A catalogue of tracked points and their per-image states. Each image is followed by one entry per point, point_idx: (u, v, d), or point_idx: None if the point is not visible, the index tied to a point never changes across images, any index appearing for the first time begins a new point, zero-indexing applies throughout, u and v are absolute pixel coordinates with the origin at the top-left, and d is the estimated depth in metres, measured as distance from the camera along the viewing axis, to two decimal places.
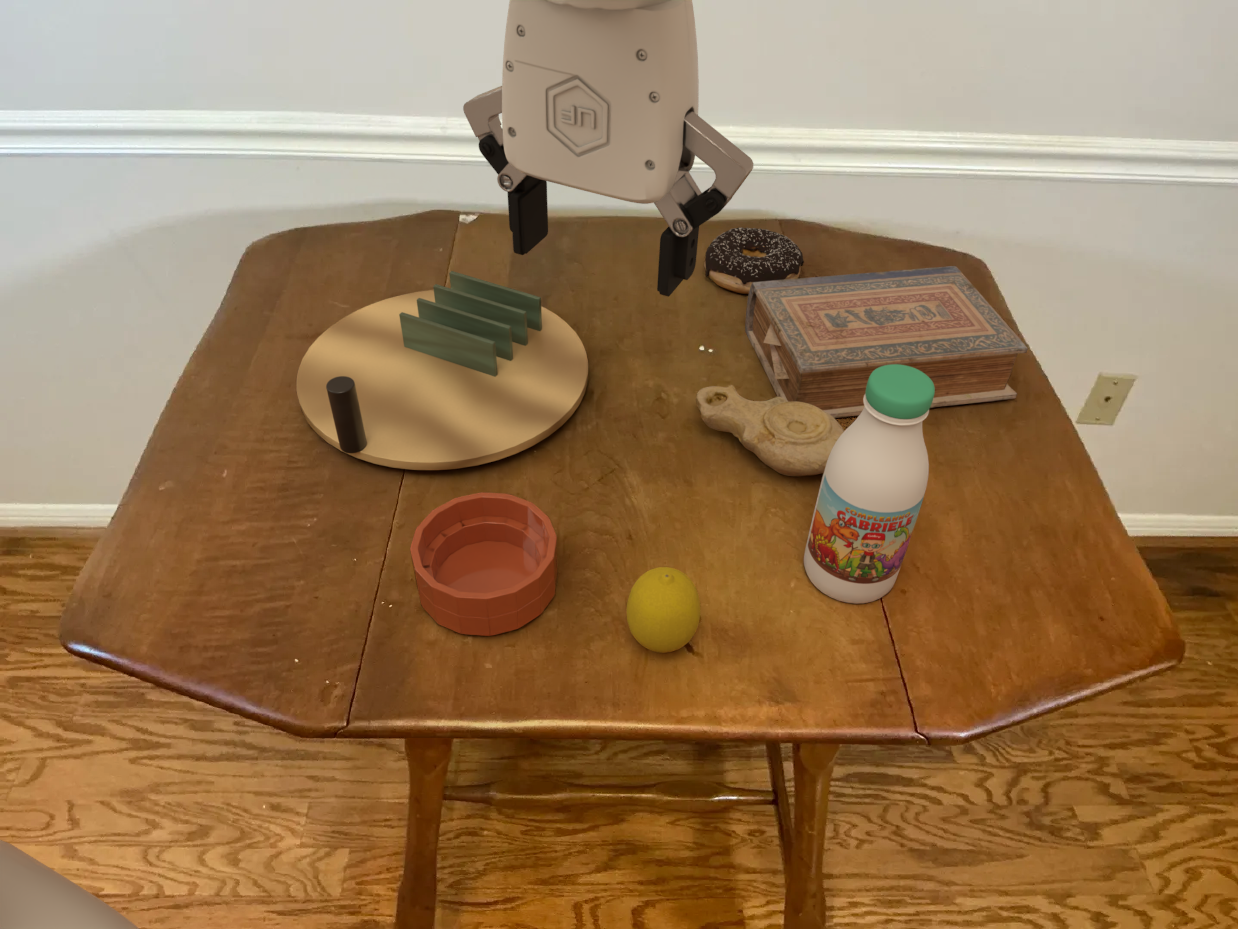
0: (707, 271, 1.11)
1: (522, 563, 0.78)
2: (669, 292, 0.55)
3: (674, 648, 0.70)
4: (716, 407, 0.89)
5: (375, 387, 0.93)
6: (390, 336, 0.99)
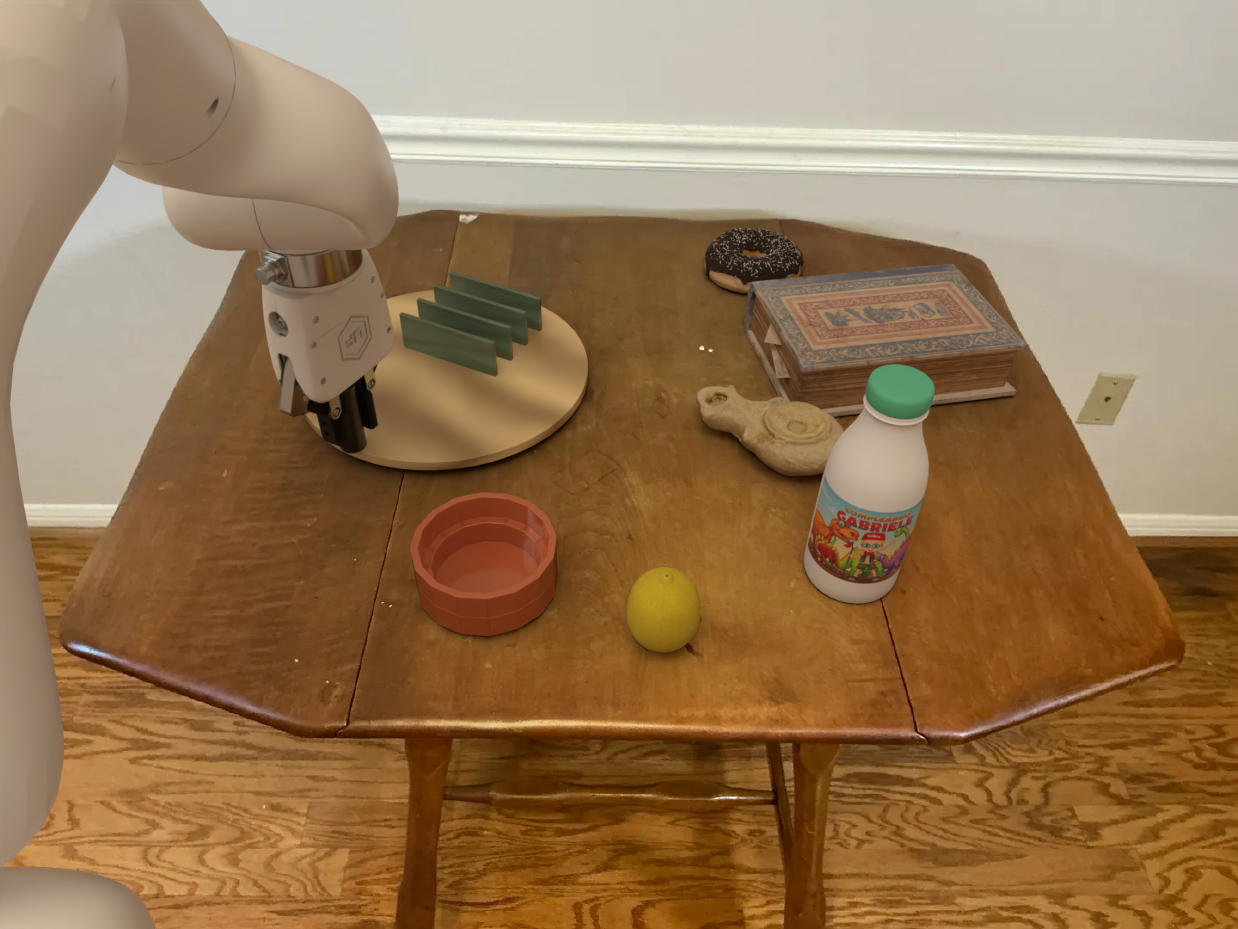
0: (707, 271, 1.11)
1: (522, 563, 0.78)
2: None
3: (674, 648, 0.70)
4: (716, 407, 0.89)
5: (375, 387, 0.93)
6: None
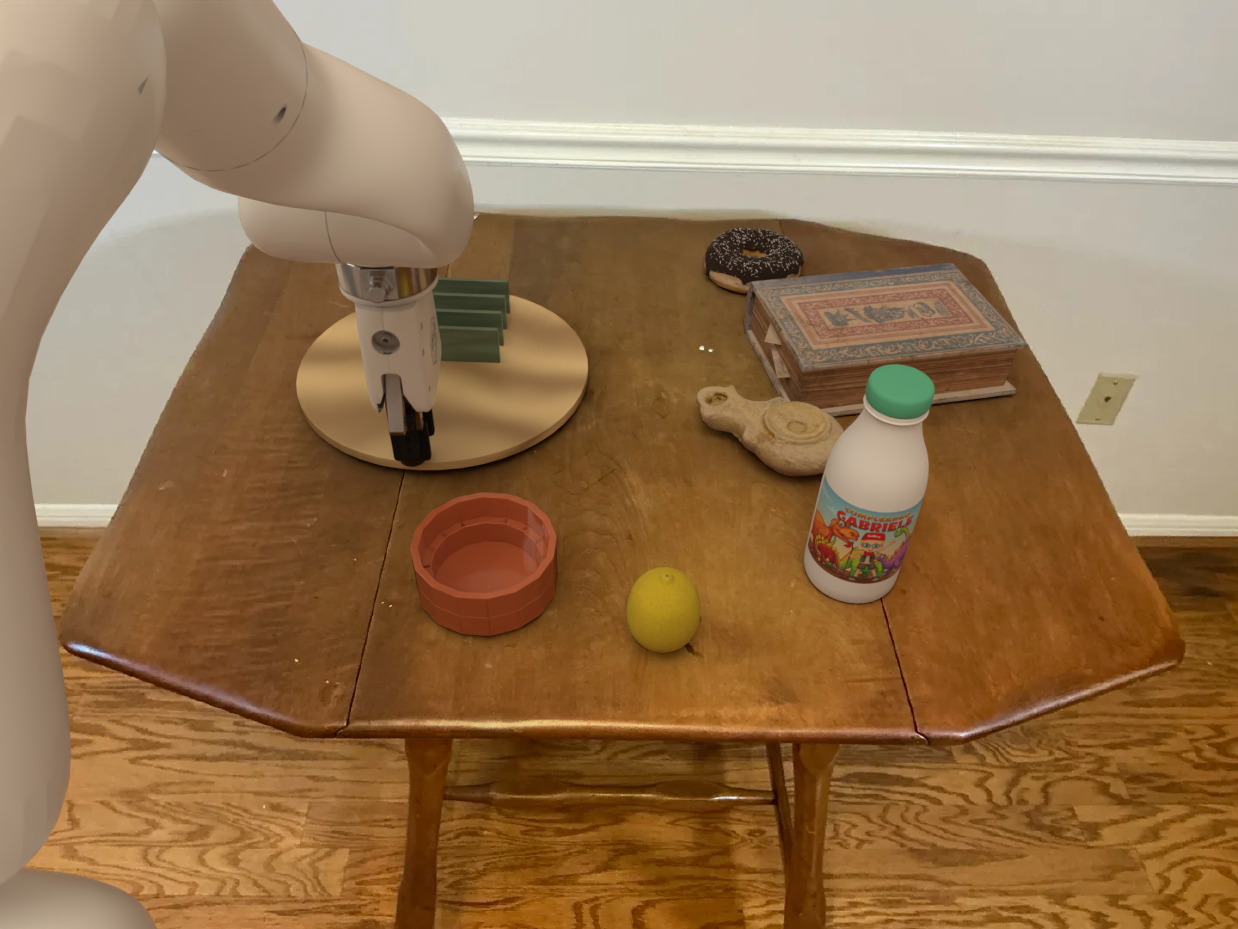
0: (707, 271, 1.11)
1: (522, 563, 0.78)
2: None
3: (674, 648, 0.70)
4: (716, 407, 0.89)
5: None
6: None
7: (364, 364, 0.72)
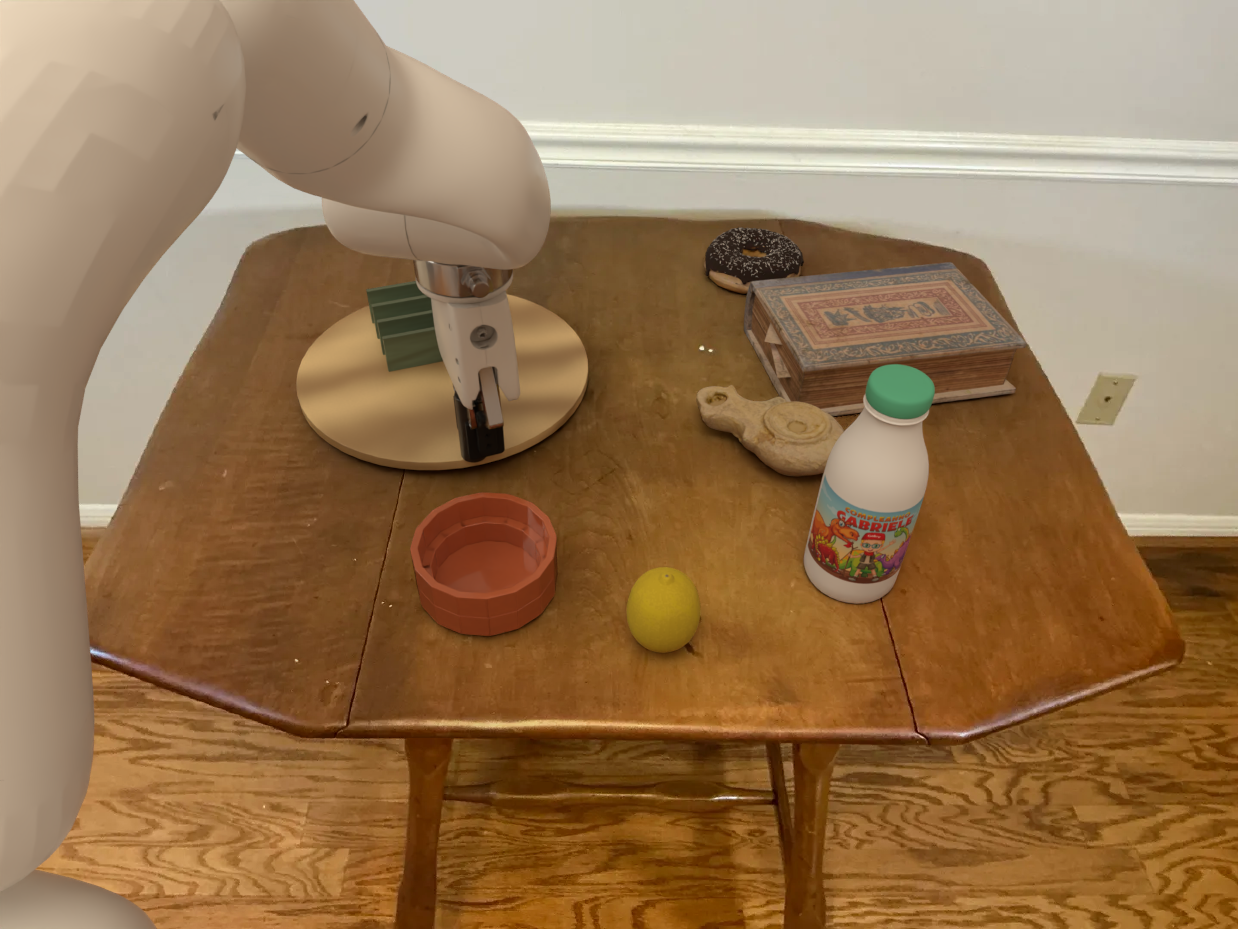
0: (707, 271, 1.11)
1: (522, 563, 0.78)
2: None
3: (674, 648, 0.70)
4: (716, 407, 0.89)
5: (418, 410, 0.90)
6: (364, 372, 0.94)
7: (461, 363, 0.73)
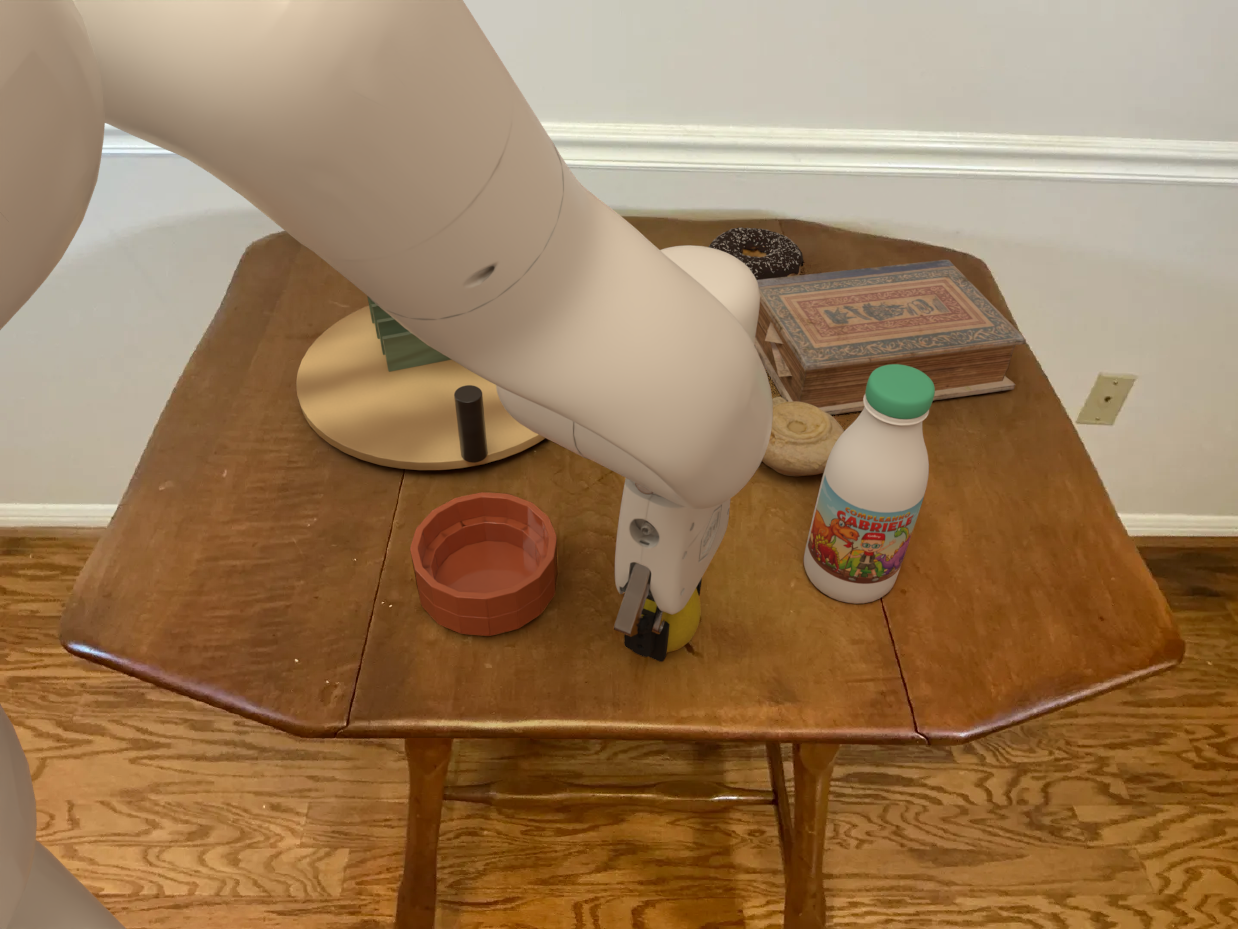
0: None
1: (522, 563, 0.78)
2: None
3: (674, 648, 0.70)
4: None
5: (418, 410, 0.90)
6: (364, 372, 0.94)
7: (617, 543, 0.61)
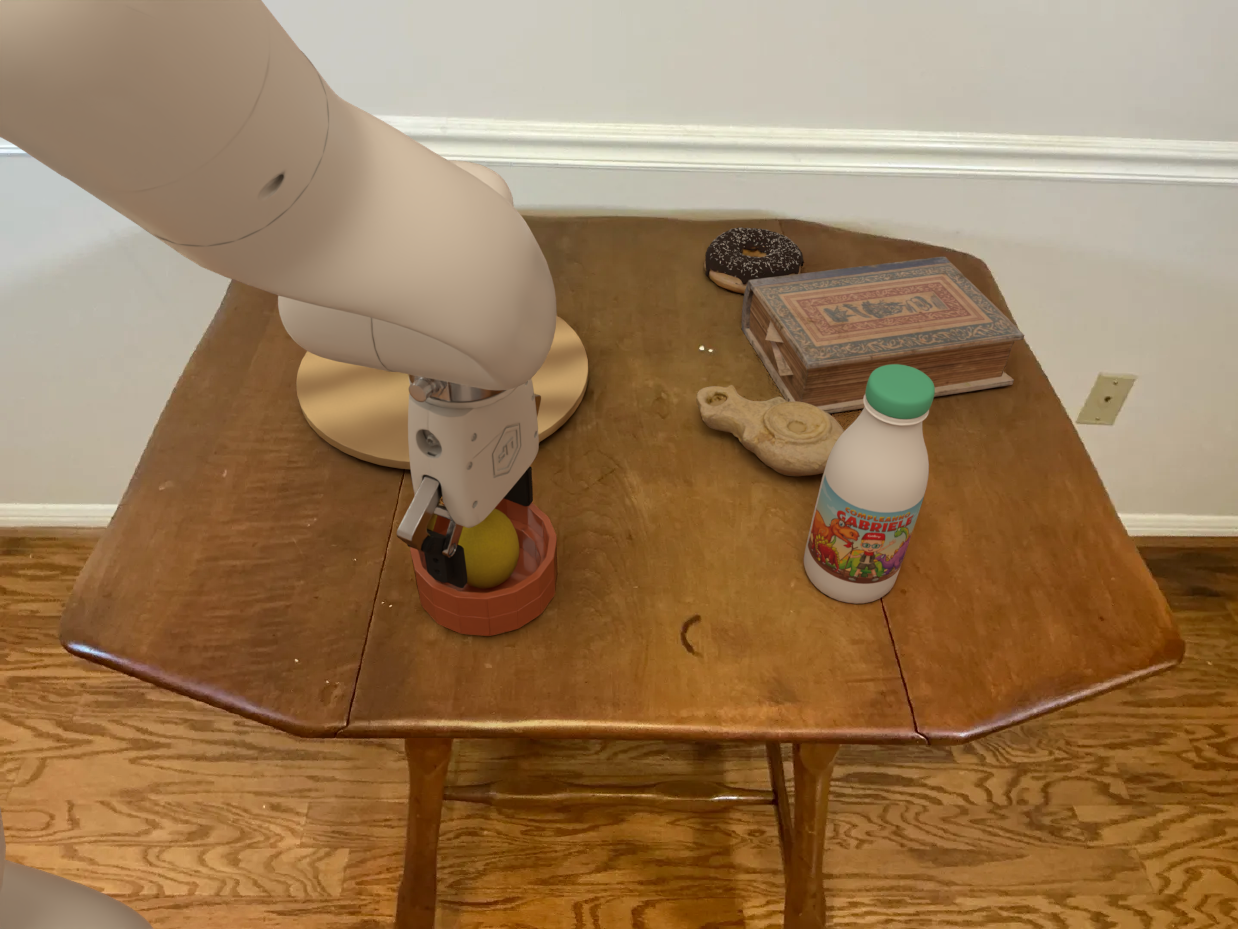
0: (707, 271, 1.11)
1: (522, 563, 0.78)
2: None
3: (491, 583, 0.73)
4: (716, 407, 0.89)
5: None
6: (364, 372, 0.94)
7: (409, 457, 0.63)
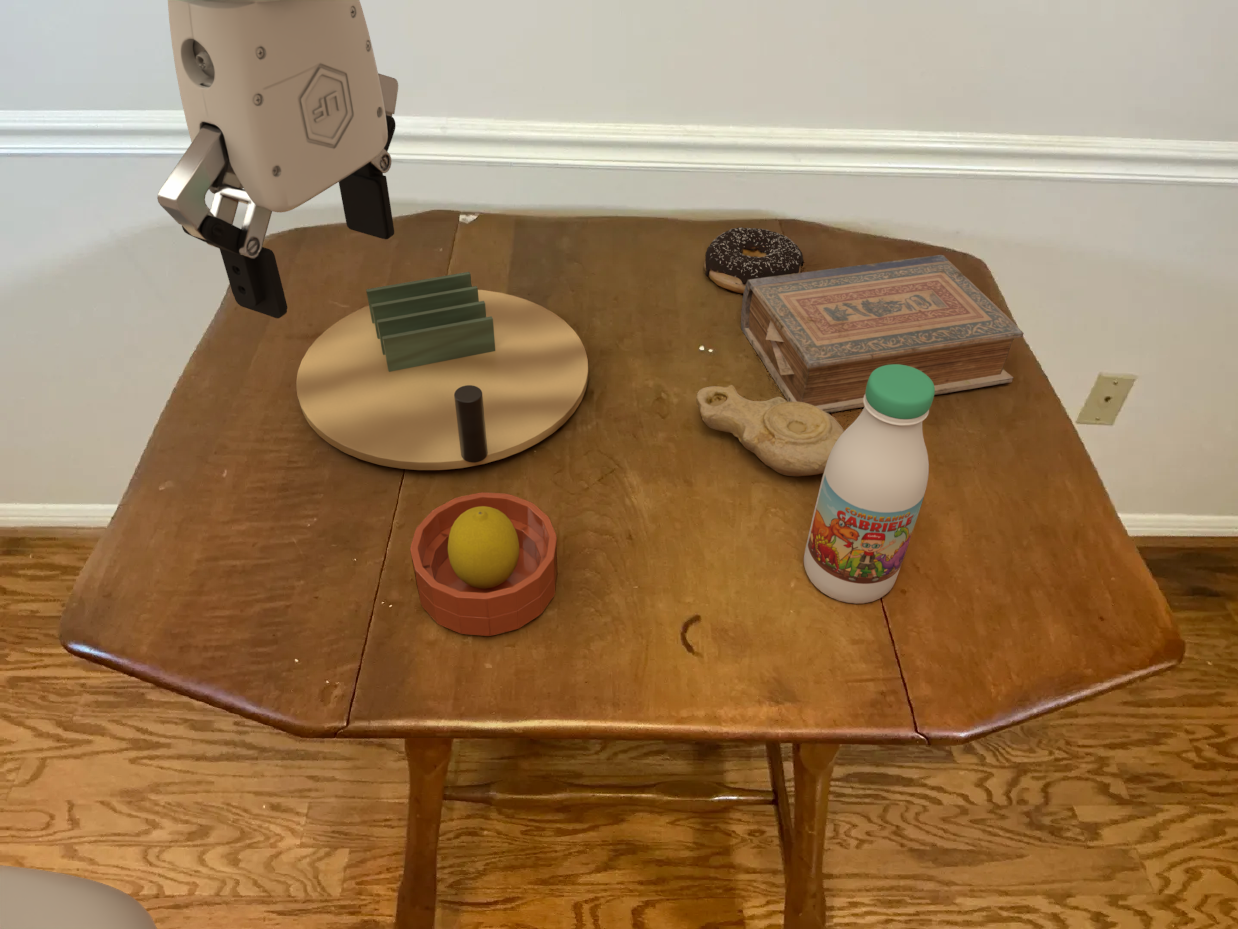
0: (707, 271, 1.11)
1: (522, 563, 0.78)
2: None
3: (491, 583, 0.73)
4: (716, 407, 0.89)
5: (418, 410, 0.90)
6: (364, 372, 0.94)
7: (181, 99, 0.45)
